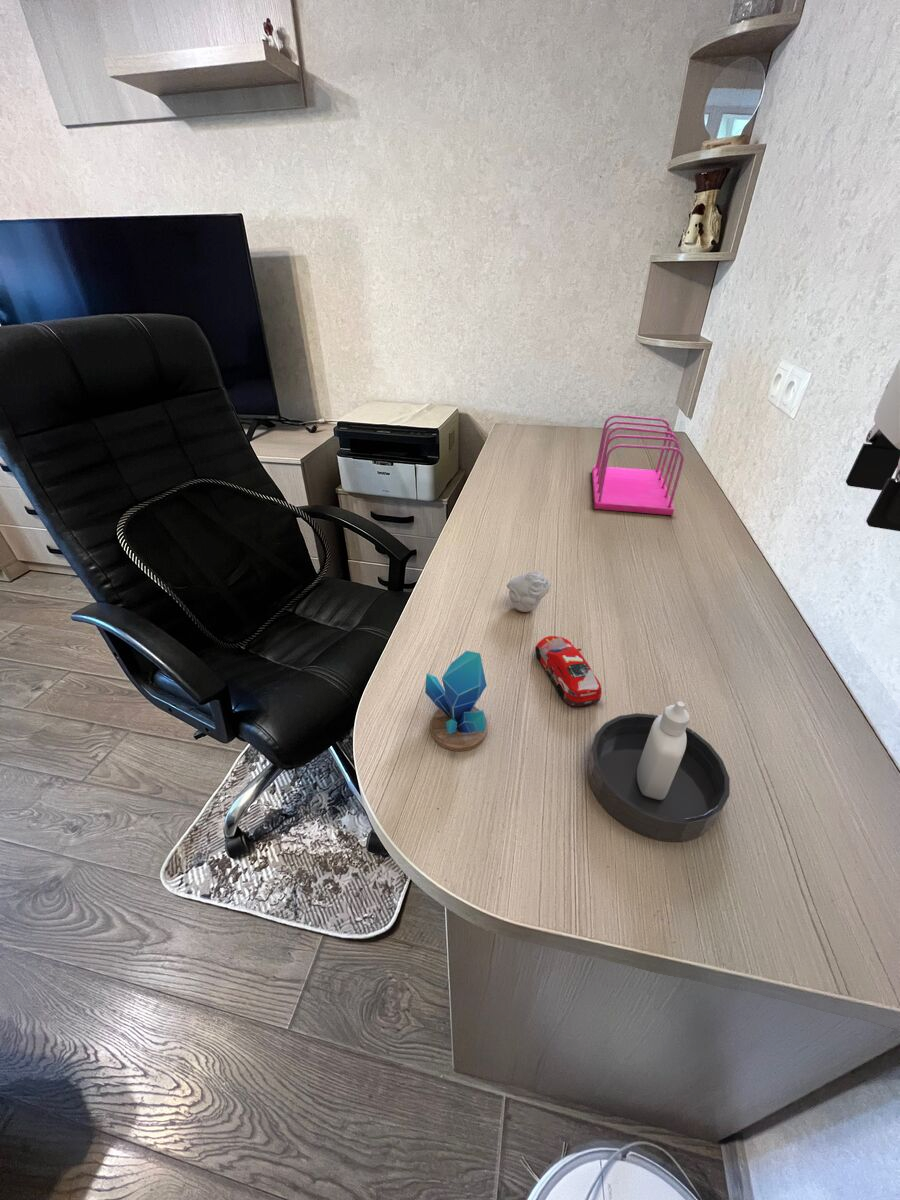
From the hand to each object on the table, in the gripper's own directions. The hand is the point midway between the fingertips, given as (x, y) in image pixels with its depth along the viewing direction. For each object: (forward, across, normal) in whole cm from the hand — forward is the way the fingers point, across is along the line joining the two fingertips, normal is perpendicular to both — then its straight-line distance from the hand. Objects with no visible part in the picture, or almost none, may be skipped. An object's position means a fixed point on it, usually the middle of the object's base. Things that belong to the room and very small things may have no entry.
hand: (875, 506), depth 45 cm
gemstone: (+31, -15, +34) cm, 48 cm away
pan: (+30, -13, +11) cm, 35 cm away
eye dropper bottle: (+30, -13, +11) cm, 34 cm away
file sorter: (+31, +72, +26) cm, 82 cm away
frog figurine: (+31, +13, +34) cm, 47 cm away
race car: (+31, 0, +24) cm, 39 cm away
